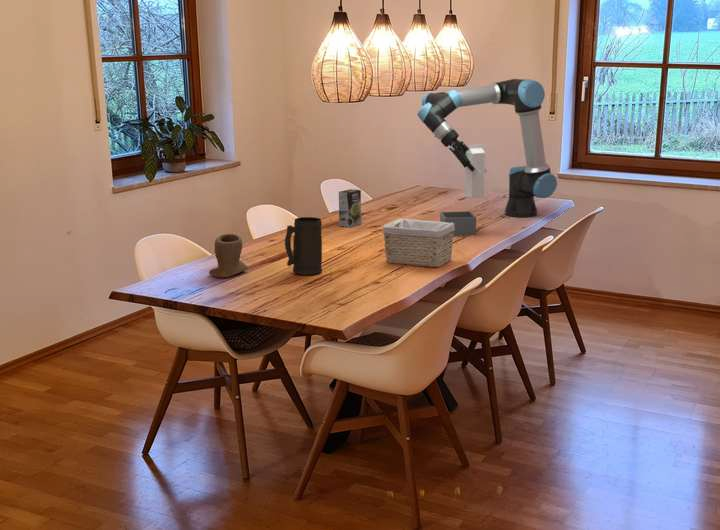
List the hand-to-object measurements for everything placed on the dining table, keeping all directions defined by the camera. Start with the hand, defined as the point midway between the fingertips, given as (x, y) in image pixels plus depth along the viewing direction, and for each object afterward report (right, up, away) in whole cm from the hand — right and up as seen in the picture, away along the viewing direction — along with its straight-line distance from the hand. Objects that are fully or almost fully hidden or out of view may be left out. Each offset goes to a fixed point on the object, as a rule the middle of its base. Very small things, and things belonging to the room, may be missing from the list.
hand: (482, 174), depth 359 cm
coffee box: (-56, -20, +34) cm, 68 cm away
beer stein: (-72, -41, -46) cm, 95 cm away
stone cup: (-99, -42, -45) cm, 116 cm away
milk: (-3, -9, +4) cm, 10 cm away
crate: (-9, -24, +14) cm, 29 cm away
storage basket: (-29, -37, -32) cm, 57 cm away
